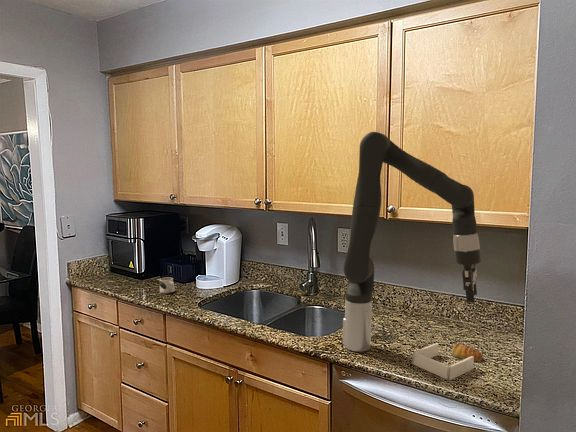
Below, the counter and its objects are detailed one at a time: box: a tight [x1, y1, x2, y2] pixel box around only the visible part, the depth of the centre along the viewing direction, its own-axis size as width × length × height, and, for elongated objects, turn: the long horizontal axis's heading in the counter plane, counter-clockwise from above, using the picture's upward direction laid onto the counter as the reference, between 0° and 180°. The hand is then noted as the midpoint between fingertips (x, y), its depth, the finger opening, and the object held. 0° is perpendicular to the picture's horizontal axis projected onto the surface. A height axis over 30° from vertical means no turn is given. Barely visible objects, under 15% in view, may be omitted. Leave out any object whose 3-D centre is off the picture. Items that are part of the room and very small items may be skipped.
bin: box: [411, 342, 475, 381], centre depth 139 cm, size 14×13×4 cm
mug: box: [158, 276, 176, 294], centre depth 221 cm, size 10×7×7 cm
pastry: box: [451, 343, 484, 362], centre depth 146 cm, size 9×7×4 cm
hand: (472, 298), depth 137 cm, fingers open, 8 cm apart
